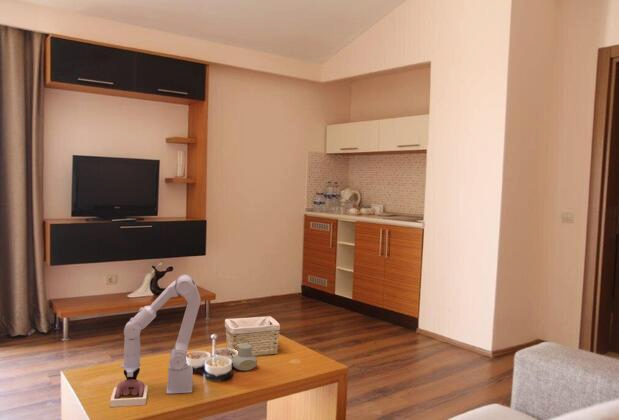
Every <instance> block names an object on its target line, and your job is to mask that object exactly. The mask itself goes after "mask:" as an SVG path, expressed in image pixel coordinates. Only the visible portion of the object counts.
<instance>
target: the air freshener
mask: <svg viewBox="0 0 619 420" xmlns="http://www.w3.org/2000/svg"><path fill="white" fill-rule="evenodd" d="M232 359H233V360H232ZM232 359H231V362H232V361H233V365H232V367H234V369H236V370H238V371H243V372H247V371H250V370H253V369H254V368H255V367H256V366H257V365H258V359H257V357H256V356H254V355H252V346H251V345H250V344H241V345H239V346H238V355H236V356H235V357H234V358H233V357H232Z"/></svg>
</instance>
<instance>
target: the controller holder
mask: <svg viewBox="0 0 619 420" xmlns="http://www.w3.org/2000/svg"><path fill="white" fill-rule="evenodd" d="M116 389H117V386H114V387H113V391H112V393H111V396H110V401H109V407H110V408H118V407H133V406H135V407H136V406H146V404H147V400H148V399H147V397H148V392H149V385H148V384H144V392H143V397H141V398H140V397H129V398H118V399H116Z"/></svg>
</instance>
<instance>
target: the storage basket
mask: <svg viewBox="0 0 619 420" xmlns="http://www.w3.org/2000/svg"><path fill="white" fill-rule="evenodd" d="M224 327H225V336H226V348H227V347H229V348H231V349H235V350H237V351H238V346H239V345H241V344H250V345H251V346H252V355H254V356H255V357H256V356H258V357H259V356H267V355H273V354H274V355H275V354H278V349H279V348H278V346H279V337H280V330H281V325H280V323H279V322H278V321H277V319H275V318H274V317H272V316H271V315H270V316H268V315H267V316H255V317H239V318H226V319H225V320H224Z"/></svg>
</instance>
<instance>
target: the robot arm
mask: <svg viewBox="0 0 619 420" xmlns="http://www.w3.org/2000/svg"><path fill="white" fill-rule="evenodd" d="M179 295H180V296H181V297H182V298H184V299H185V301H186V302H187V305H186V309H185V311H184V315H183V319H182V322H181V325H180V329H179V333H178V336H177V339H176V341H175V344H174V346H173V348H172V349H171V350H170V352H169V364H168V366H167V367H168V368H167V369H168V371H167V373H168V374H167V384H166V395H171V394H173V395H174V394H189V393H192V392H193V386H194V380H193V376H194V375H193V374H194V373H193V370H194V369H193V366H192V365H188V363H187V361H188V360H187V353H188V348H189V343H190V341H191V337H192V334H193V330H194V327H195V322H196V320H197V316H198V313H199V308H200V307H201V306H200V304H201V301H202V299H201V296H200V293H199V290H198V287H197V283H196V281H195V280H194V279H193V278H192V277H191V276H190V275H188V274H184V273H183V274H181V275H180V276H178V277H177V279H175V280H173V281H172V282H171V283H170V284H168V286H167V287H166V288H165V289H164V290H163V291H162V292H161V293H160V294H159V295H158V297H156V299H155V300H154V301H153V302H152V303H151V304H150V305H145V306H143V307H140V308H139V309H138V313H136V314H135V315H134V317H130V319H129V321H128V322H126V324H125V326H124V329H123V335H124V342H123V343H124V344H123V346H124V347H123V363H122V364H120V369H121V368H123V369H124V370H123V374H124V377H125V378H126V379H125V380H128V379H136V380H137V377H138V375H139V373H140V369H141V339H140V338H141V335H140V334H141V331H142V330H144V329H145V328H146V327H147V326H149V324H150V323H151V322H152V321H153V320H154V319H155V318H156V317H157V311H159V310H160V308H162V307H163V306H164V305H165V304H166V303H167V302H168V301H169V300H170V299H171V298H176V297H179ZM128 389H129V390H133V389H134V388H128Z"/></svg>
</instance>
